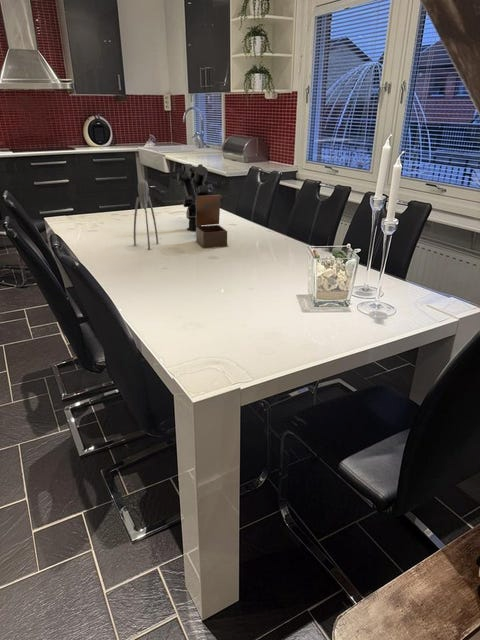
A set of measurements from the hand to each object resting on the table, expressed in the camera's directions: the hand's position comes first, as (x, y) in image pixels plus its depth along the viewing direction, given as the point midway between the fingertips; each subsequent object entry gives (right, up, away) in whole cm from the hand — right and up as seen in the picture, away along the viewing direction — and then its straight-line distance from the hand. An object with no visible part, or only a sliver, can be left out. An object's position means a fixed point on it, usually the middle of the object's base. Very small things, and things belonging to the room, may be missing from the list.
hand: (206, 215), depth 227 cm
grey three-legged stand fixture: (-29, -16, -7) cm, 34 cm away
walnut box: (+3, -14, -2) cm, 15 cm away
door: (+1, +1, -4) cm, 4 cm away
